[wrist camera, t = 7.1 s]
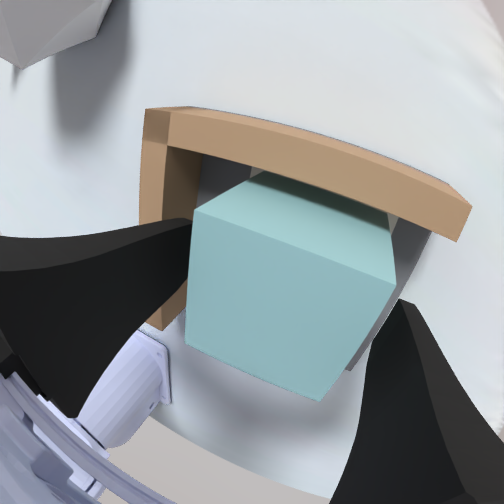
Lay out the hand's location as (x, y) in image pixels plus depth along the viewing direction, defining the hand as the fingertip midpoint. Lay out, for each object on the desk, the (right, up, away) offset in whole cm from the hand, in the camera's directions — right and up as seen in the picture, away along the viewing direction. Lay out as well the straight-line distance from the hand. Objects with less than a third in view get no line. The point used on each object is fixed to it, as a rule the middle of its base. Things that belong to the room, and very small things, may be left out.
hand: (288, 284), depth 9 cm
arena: (0, +1, +3) cm, 4 cm away
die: (-10, +16, 0) cm, 19 cm away
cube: (+1, +1, +2) cm, 3 cm away
